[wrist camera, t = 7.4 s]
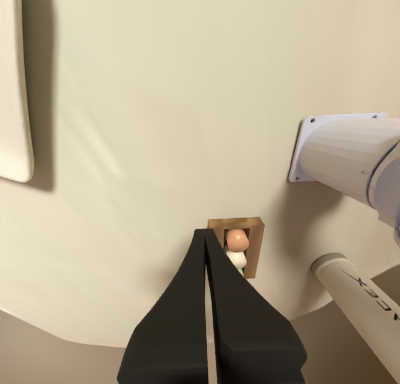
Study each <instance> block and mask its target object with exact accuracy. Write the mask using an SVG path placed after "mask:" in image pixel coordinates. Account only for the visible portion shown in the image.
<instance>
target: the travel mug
mask: <svg viewBox="0 0 400 384" xmlns="http://www.w3.org/2000/svg"><path fill="white" fill-rule="evenodd" d="M312 272H313V273H314V274H315V276H316V277H317V278H318V279H319V281H320V282H321V284H322V285H323V286H324V287H325V289H326V290H327V291H328V293H329V294H330V295H331V297H332V298H333V299H334V301H335V302H336V303H337V304H338V306H339V307H340V308H341V310H342V311H343V312H344V313H345V315H346V316H347V318H348V319H349V320H350V321H351V323H352V324H353V325H354V327H355V328H356V329H357V330H358V332H359V333H360V334H361V336H362V337H363V338H364V340H365V341H366V342H367V343H368V345H369V346H370V348H371V349H372V350H373V351H374V353H375V354H376V355H377V357H378V358H379V359H380V361H381V362H382V363H383V364H384V366H385V367H386V368H387V370H388V371H389V372H390V374H391V375H392V376H393V377H394V379H395V380H396V382H397V383H398V384H400V307H399V306H398V305H397V304H396V303H395V302H394V301H393V300H391V299H390V298H389V297H388V296H387V295H386V294H385V293H384V292H383V291H382V290H381V289H380V288H378V287H377V286H376V285H375V284H374V283H373V282H372V281H371V280H370V279H369V278H368V277H366V276H365V275H364V274H363V273H362V272H361V271H360V270H359V269H358V268H357V267H356V266H355V265H353V264H352V263H351V262H350V261H349V260H348V259H347V258H346V257H345V256H343V255H341V254H336V253H335V254H328V255H325V256H322V257H320V258H319V259H318V260H316V261H315V262H314V264H313V266H312Z"/></svg>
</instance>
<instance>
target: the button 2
mask: <svg viewBox="0 0 400 384" xmlns="http://www.w3.org/2000/svg"><path fill="white" fill-rule="evenodd" d="M225 236H226V240H227V244H228V248H229V250H231V251H232V252H236V253H239V252H243V251H245V250H246V249H247V248H248V246H249V241H248V239H247V237H246V234H245V232H244V230H243V229H225Z"/></svg>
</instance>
